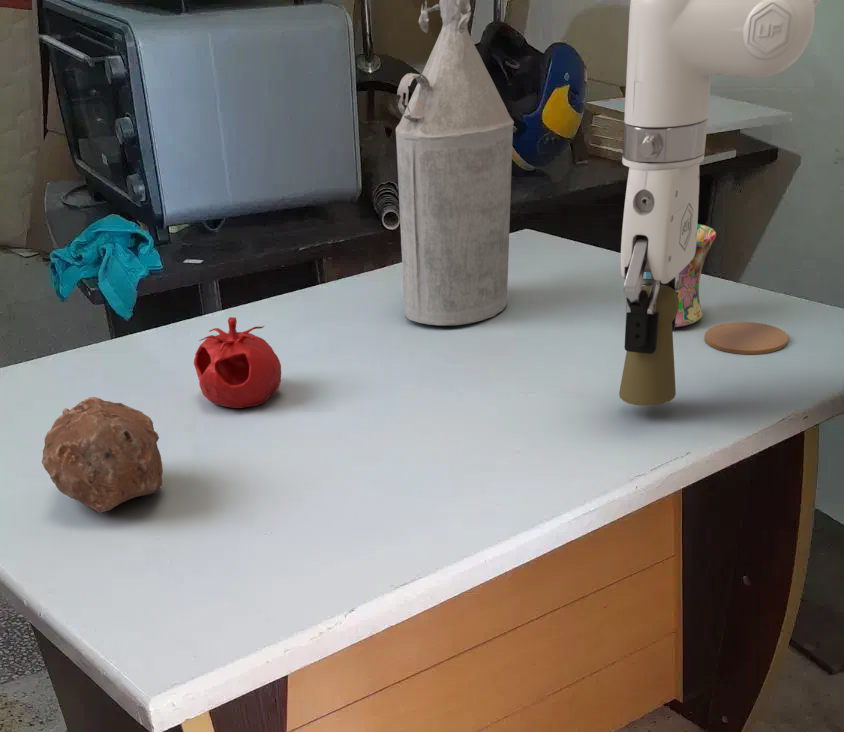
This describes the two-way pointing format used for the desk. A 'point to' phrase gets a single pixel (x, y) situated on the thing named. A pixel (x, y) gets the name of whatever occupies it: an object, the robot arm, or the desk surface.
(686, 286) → the mug
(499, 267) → the canister
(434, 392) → the desk surface
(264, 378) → the hollow red tomato
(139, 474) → the decorative rock
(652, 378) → the pepper shaker
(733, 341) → the coaster
